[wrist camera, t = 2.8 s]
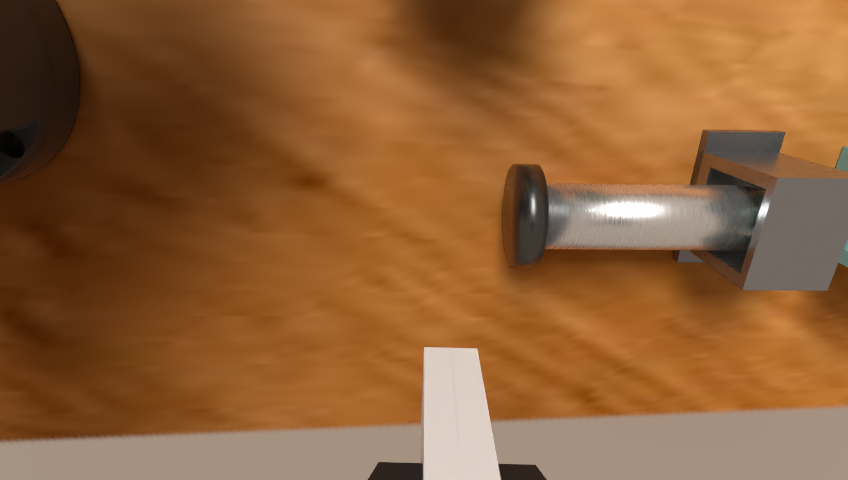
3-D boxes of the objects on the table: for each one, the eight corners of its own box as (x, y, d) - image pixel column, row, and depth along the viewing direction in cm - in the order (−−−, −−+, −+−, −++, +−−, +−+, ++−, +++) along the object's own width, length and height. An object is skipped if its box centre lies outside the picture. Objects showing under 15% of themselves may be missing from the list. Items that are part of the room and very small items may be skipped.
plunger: (499, 243, 29) (517, 285, 24) (506, 154, 27) (528, 179, 22) (760, 245, 29) (834, 287, 24) (788, 157, 27) (875, 183, 22)
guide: (672, 258, 31) (736, 310, 24) (703, 129, 27) (786, 152, 21) (739, 258, 31) (819, 310, 25) (777, 130, 28) (881, 153, 21)
